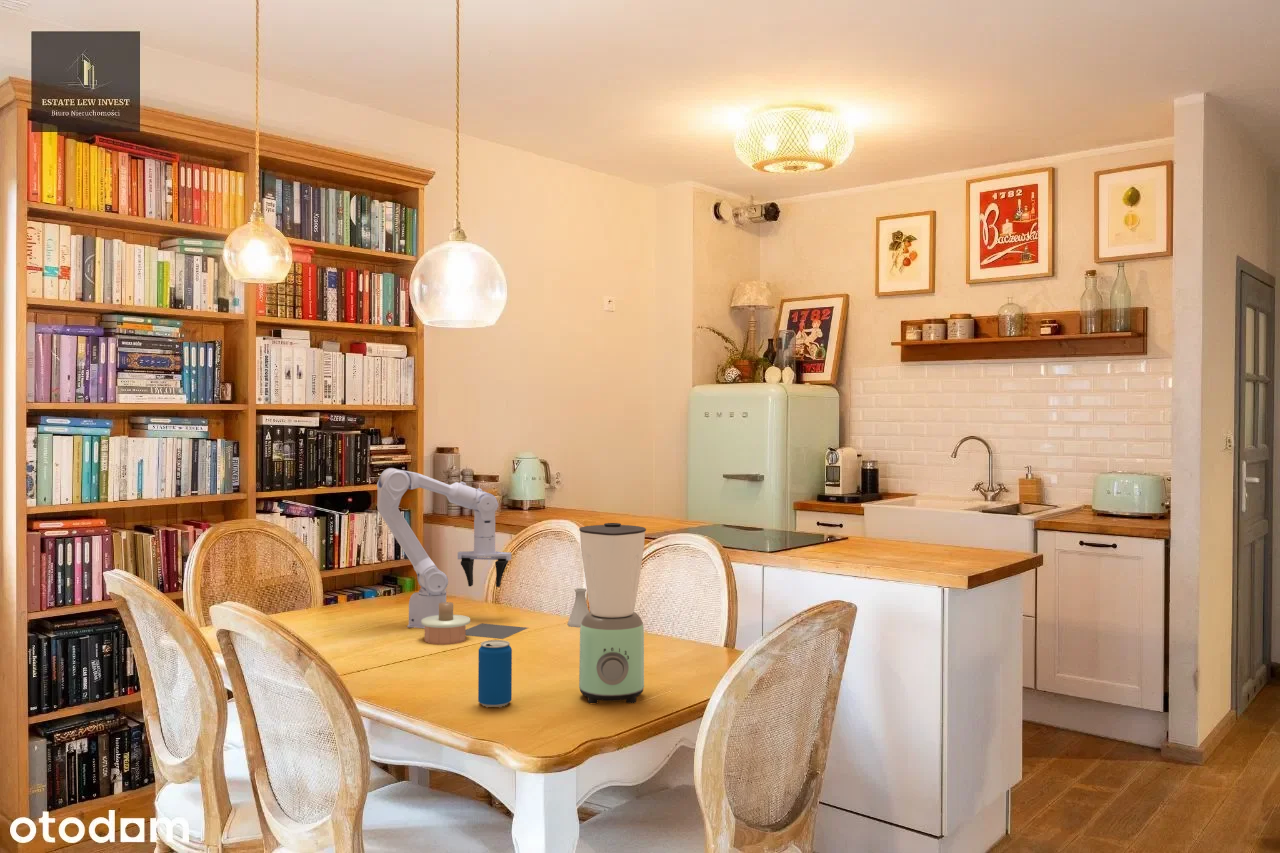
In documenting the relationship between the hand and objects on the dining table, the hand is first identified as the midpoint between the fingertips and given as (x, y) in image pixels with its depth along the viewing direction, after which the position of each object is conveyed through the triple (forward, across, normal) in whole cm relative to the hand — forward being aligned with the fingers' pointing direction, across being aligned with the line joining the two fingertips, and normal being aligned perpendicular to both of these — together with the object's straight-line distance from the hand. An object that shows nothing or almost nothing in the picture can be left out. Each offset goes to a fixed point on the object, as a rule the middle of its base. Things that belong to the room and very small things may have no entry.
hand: (484, 586), depth 271 cm
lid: (+5, -4, -22) cm, 23 cm away
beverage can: (+10, +22, -74) cm, 78 cm away
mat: (+10, +5, -12) cm, 16 cm away
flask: (+10, +27, -1) cm, 29 cm away
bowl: (+10, -4, -23) cm, 25 cm away
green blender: (+10, +44, -66) cm, 79 cm away
